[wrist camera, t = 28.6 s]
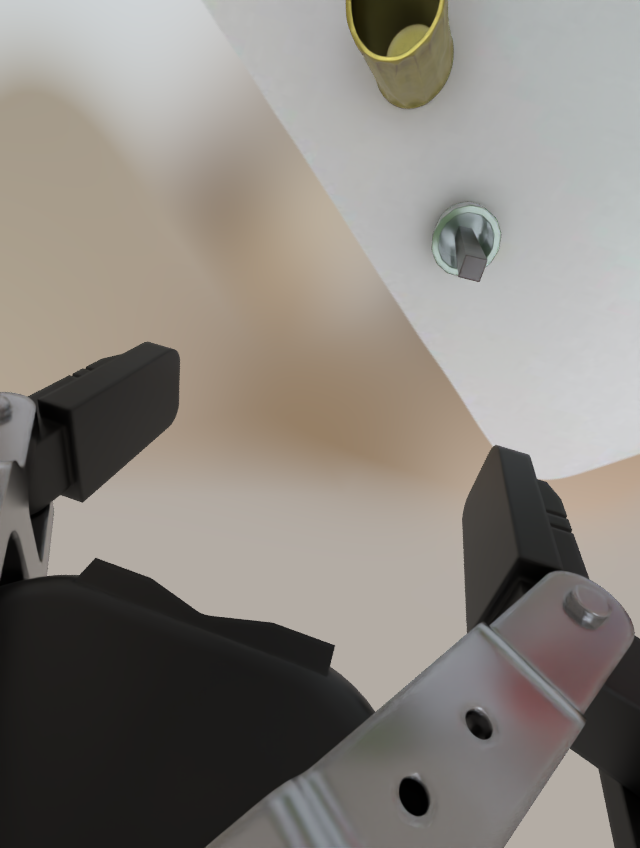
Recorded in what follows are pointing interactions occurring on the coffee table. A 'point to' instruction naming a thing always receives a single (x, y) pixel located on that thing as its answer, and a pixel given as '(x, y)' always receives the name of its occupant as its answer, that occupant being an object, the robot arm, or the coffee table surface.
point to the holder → (471, 218)
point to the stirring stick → (469, 255)
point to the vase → (404, 46)
